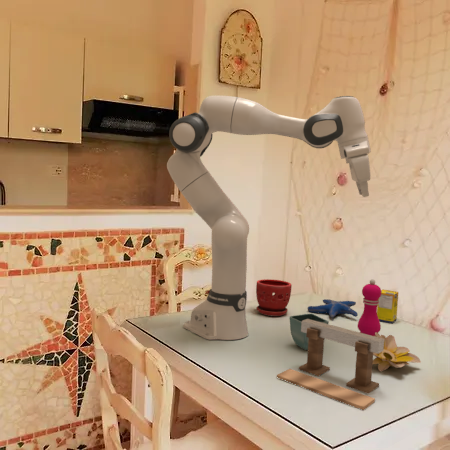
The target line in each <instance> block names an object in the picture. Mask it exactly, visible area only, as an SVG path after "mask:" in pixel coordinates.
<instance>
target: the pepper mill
mask: <svg viewBox="0 0 450 450" xmlns="http://www.w3.org/2000/svg"><path fill="white" fill-rule="evenodd" d="M381 290H382V289H381V287H380V286H379V285H377V284H376V280H375V279H370V280H369V283H368V284H365V285H363V287H362V290H361V294H362V296H363V298H362V303H363V305H364V306H363V312H362V314H361V316H360V318H359V319H358V322H357V329H358V330H359V332H360V333H363V334H367V335H371V336H376V335H375V332H377V333H378V334H379V333H380V331H381V329H382V328H381V321H379V319H378V316H377V305H378V304H379V300H378V299H379V297H380V296H381Z"/></svg>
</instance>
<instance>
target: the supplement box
mask: <svg viewBox="0 0 450 450" xmlns="http://www.w3.org/2000/svg"><path fill="white" fill-rule="evenodd" d="M378 300H379V304H378V305H377V316H378V319H379V321H380V322H383V323H389V324H394V323H395V322H394V321H396V320H397V317H398V315H397V314H398V306H399V305H398V304H399V291H397V290H396V291H395V290H389V289H381V296H380V297H379V299H378Z"/></svg>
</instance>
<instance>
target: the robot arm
mask: <svg viewBox="0 0 450 450" xmlns="http://www.w3.org/2000/svg"><path fill="white" fill-rule="evenodd" d="M365 125H366V121H365V117H364V113H363V108H362V105H361V103H360V100H359V99H358V98H356V97H355V96H352V95H342V96H336V97H334V98H331V100H330V102H329V103H327V104H326V105H325V106H324V107H323V108H322V109H321V110H319V111H318V112H316V113H315V114H313V115H311V116H310V117H309V118H300V117H299V118H298V117H294V116H287V115H283V114H278V113H277V112H274V111H272V110H270V109H269V108H267V107H266V106H264V105H262V104H261V103H259V102H257V101H254V100H251V99H247V98H243V97H238V96H233V95H232V96H231V95H208V96H206V97H205V98H204V99H203V100H202V102H201V104H200V107H199V111H198V112H192V113H189V114H187V115H185V116H184V115H183V116H182V117H180V118H178V119H175V121H174V122H173V123H172V124H171V126H170V128H169V133H168V135H169V141H170V143H171V144H172V146H173V147H174V148H175V149H176V151H175V152H174V153H173V154H172V155H171V156H170V157H169V159H168V161H167V163H166V168H167V171H168V173H169V176H170V178H171V180H172V181H173V183H174V184H175V186H176V188H177V189H178V191H179V192H180V193H181V195H182V196H183V197H184V199H185V200H186V201H187V203H189V205H190V207H191V208H192V209H193V211H194V212H195V213H196V214H197V215H198V216H199V217H200V218H201V219H202V221H204V223H206V225H207V226H208V227H209V228H210V229H211V266H212V267H211V268H212V270H211V271H212V272H211V288H210V289H208V290H204V292H205V293H204V295H207V297H206V300H204V301H202V302H201V303H199V304H198V305H196V307H194V308H193V309H192V311H191V313H190V319H189V320H187V321H186V322H184V323H183V324H182V328H184V329H185V330H188V331H189V332H192V333H193V334H196V335H198V336H199V337H201V338H204V339H205V340H223V341H224V340H225V341H227V340H228V341H232V340H240V339H244V338H246V337H248V335H249V330H248V324H247V316H246V313H247V312H246V305H247V299H248V297H247V296H248V295H247V289H246V286H247V285H246V284H247V271H248V270H247V266H248V265H247V256H248V252H247V251H248V236H249V233H250V224H249V222H248V220H247V218H246V217H245V216H244V215H243V214H242V212H241V211H240V210H239V209H238V208H237V206H236V205H235V204H234V202H233V201H232V200H231V199H230V198H229V196H228V195H227V194H226V193H225V192H224V190H223V189H222V188H221V186H220V185H219V183H218V182H217V181H216V179H215V178H214V177H213V176H212V174H211V173H210V171H209V170H208V169H207V167H206V166H205V164H203V163H204V162H203V161H202V159H201V157H202V156H203V155H204V153H205V152H206V150H207V149H208V148H209V146H210V144H211V143H212V140H213V134H214V133H217V132H221V133H229V134H232V135H240V136H256V135H257V136H258V135H259V136H260V135H278V136H282V137H289V138H293V139H298V140H300V141H303V142H304V143H305V144H307V145H309V146H310V147H312V148H314V149H324V148H327V147H329V146H331V144H332V143H333V142H334V141H335V142H336V143H337V145H338V151H339V157H340V160H341V159H344V160H345V162H346V163H345V164H348V166H349V171H350V176H351V180H352V181H354V182H355V184H356V187H357V189H358V190H357V191H358V194H359V195H361V196H362V198H367V197H369V196H370V194H369V193H370V192H369V184H368V182H369V181H371V167H370V159H369V154H370V153H371V152H372V151H371V146H370V140H369V136H368V133H367V132H366V126H365Z"/></svg>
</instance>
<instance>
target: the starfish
mask: <svg viewBox="0 0 450 450" xmlns="http://www.w3.org/2000/svg"><path fill="white" fill-rule="evenodd" d="M322 303H323V304H320V305H315V306H314V305H313V306H311V305H309V306H308V307H307V311H308V312H309V313H311V314H328V315H329V316H330V318H335V316H337V315H342V314H343V315H345V314H346V315H352V316H353V317H356V318H357V317H358V315H359V314H358V312H357V311H356V310H354V309H353V308H352V307H354V306H356V304H357V302H356V301H353V300H342V301H341V300H340V301H337V300H333V299H329V298H328V299H327V298H326V299H322Z"/></svg>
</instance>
